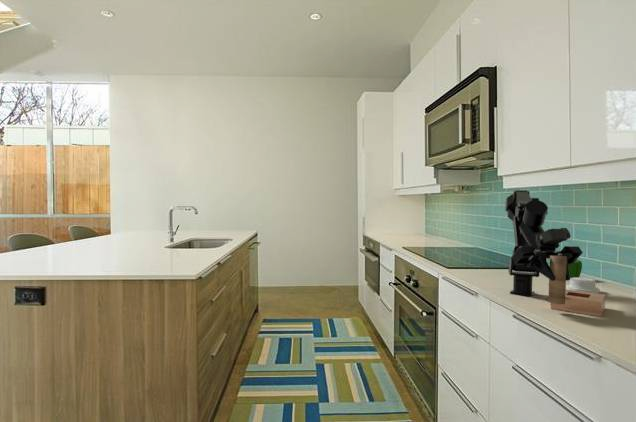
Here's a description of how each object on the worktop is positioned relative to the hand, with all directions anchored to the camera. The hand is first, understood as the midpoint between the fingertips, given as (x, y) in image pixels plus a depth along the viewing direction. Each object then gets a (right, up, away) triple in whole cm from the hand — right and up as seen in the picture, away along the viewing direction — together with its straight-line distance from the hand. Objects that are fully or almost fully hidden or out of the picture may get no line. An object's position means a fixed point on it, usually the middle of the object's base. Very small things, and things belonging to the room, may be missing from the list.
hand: (561, 279), depth 111 cm
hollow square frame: (+9, -10, +7) cm, 15 cm away
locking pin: (0, -7, +2) cm, 7 cm away
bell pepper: (+36, -9, +54) cm, 66 cm away
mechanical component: (+26, -10, +32) cm, 42 cm away
